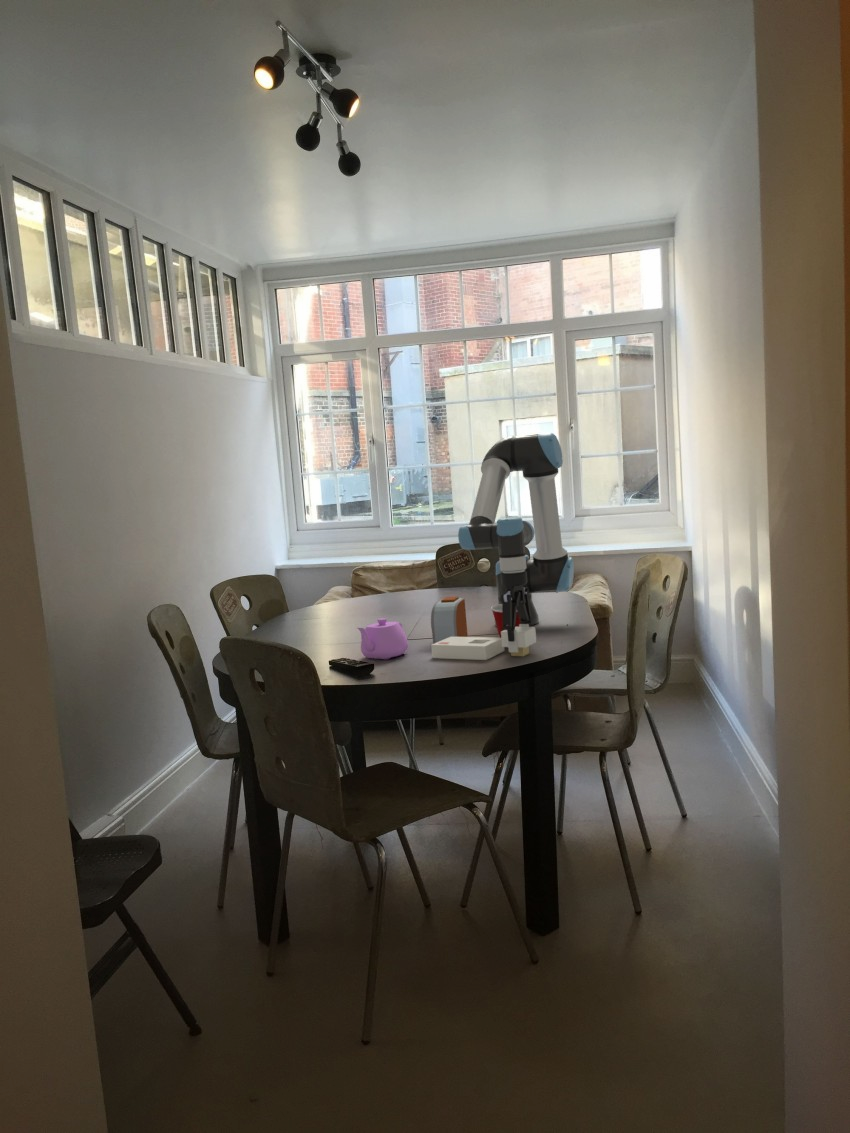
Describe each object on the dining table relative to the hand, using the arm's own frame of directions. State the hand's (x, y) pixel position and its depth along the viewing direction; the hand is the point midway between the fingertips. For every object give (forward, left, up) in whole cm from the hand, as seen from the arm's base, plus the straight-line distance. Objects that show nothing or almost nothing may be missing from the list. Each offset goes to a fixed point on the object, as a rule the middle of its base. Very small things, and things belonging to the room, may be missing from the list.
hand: (519, 648), depth 260 cm
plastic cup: (-13, -9, -2) cm, 16 cm away
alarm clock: (-16, -32, -2) cm, 36 cm away
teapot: (+9, -42, -2) cm, 43 cm away
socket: (+2, -16, -2) cm, 16 cm away
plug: (0, 0, -2) cm, 2 cm away
